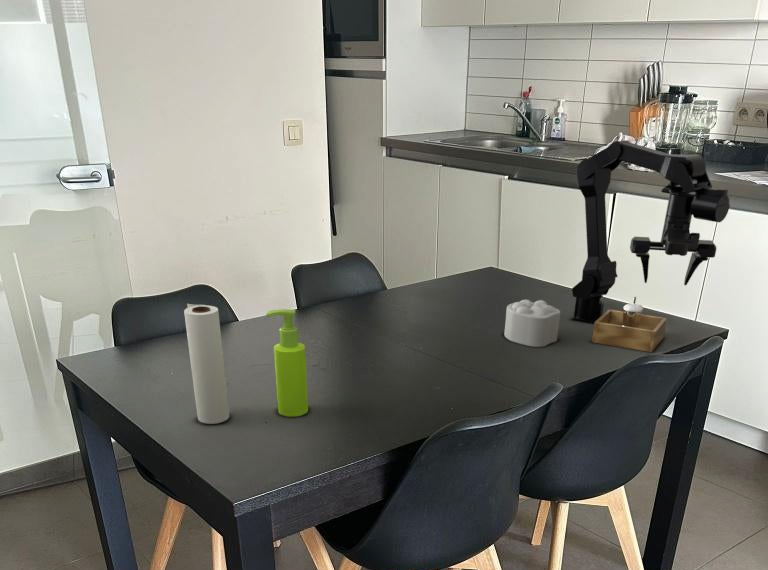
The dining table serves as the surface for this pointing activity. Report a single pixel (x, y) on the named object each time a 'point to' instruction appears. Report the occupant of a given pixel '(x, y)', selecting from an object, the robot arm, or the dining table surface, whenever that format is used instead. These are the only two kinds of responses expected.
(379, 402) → the dining table surface
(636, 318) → the silver capped cylinder
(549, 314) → the lumpy-topped squat cylinder
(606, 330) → the crate
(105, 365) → the dining table surface
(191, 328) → the paper towel roll
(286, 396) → the soap dispenser
